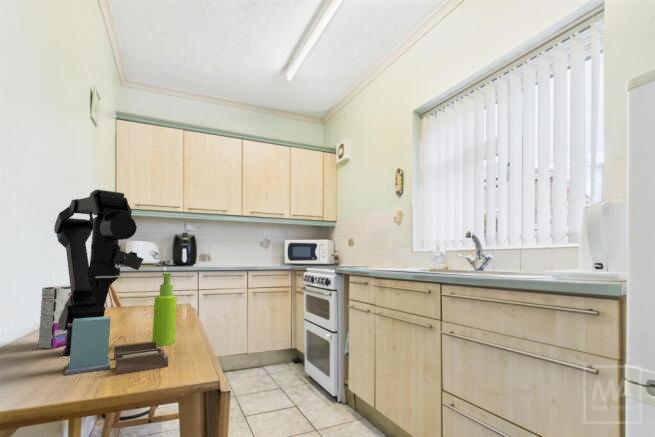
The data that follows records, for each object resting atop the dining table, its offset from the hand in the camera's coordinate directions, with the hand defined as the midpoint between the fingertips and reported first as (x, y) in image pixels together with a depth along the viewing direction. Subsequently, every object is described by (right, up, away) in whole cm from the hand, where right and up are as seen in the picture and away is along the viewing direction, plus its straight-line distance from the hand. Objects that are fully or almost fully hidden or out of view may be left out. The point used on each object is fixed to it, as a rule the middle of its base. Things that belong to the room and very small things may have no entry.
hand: (100, 304), depth 84 cm
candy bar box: (-20, -15, +14) cm, 29 cm away
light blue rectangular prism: (+1, -12, -6) cm, 13 cm away
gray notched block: (+13, -13, -6) cm, 19 cm away
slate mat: (+1, -12, -6) cm, 14 cm away
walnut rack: (+11, -13, -3) cm, 17 cm away
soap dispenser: (+8, -15, +16) cm, 23 cm away
